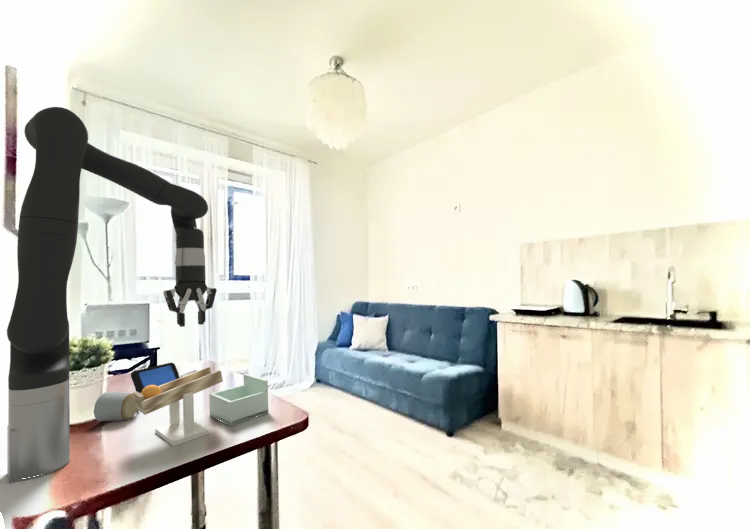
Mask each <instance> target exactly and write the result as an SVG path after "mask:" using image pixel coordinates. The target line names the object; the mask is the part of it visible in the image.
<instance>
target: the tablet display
mask: <svg viewBox="0 0 750 529" xmlns="http://www.w3.org/2000/svg"><path fill="white" fill-rule="evenodd" d="M130 378H131V380H132V383H133V387H134V389H135V392H136V391H137V392H139V393H141V392H142V390H143V389H144V388H145V387H146V386H148V385H157V386H160V385H163V384H165V383H168V382H171V381H173V380H176V379H178V378H181V376H180V374H179V370H178V369H177V366H176V363H174V362H167V363H163V364H158V365H154V366H151V367H146V368H141V369H136V370H133V371H132V372H131V373H130Z"/></svg>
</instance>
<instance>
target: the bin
mask: <svg viewBox="0 0 750 529" xmlns="http://www.w3.org/2000/svg"><path fill="white" fill-rule="evenodd" d="M268 381H269V380H268V379H264V378H261V377H257V376H254V375H251V374H247V373H244V374H243V384H242V385H238V386H233V387H229V388H226V389H222V390H219V391H215V392H211V393H209V395H208V396H209V416H210V415H211V416H210V417H212V416H213V417H212V418H214V417H215V418H214V419H216V418H217V419H219V420H221V421H223V422H225V423H227V424H228V425H227V424H226V425H227V426H229V425H230V426H229V427H232V426H235V425H238V424H241V423H244V422H246V420H247V421H249V419H250V420H252V419H255V418H257V417H256V416H258V417H260V416H259V415H261V416H263V415H262V414H264V415H266V414H265V413H267V414H269V413H268V412H269V411H270V410H269V386H268V383H269V382H268ZM254 417H255V418H254ZM251 418H252V419H251ZM217 419H216V420H217ZM219 420H218V421H219ZM221 421H220V422H221ZM243 421H244V422H243ZM223 422H222V423H223ZM225 423H224V424H225ZM237 423H238V424H237ZM234 424H235V425H234ZM231 425H232V426H231Z"/></svg>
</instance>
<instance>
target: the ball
mask: <svg viewBox="0 0 750 529" xmlns="http://www.w3.org/2000/svg"><path fill="white" fill-rule="evenodd" d="M141 394H142V395H144V397H145V400H146V399H148V398H151V397H153V396H156V395H158V394H161V390H160V388H159V387H158V386H157V385H148V386H146V387H145V388H144V389H143V390H142V392H141Z"/></svg>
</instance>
